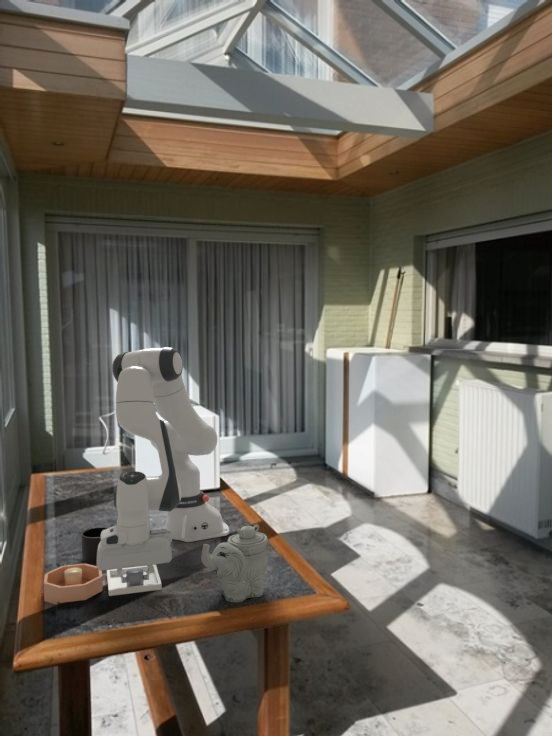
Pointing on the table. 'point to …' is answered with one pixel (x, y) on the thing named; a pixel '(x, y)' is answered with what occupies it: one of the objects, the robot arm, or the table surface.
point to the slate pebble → (135, 577)
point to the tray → (121, 588)
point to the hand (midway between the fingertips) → (135, 580)
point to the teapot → (239, 563)
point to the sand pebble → (73, 576)
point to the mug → (91, 544)
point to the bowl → (61, 593)
